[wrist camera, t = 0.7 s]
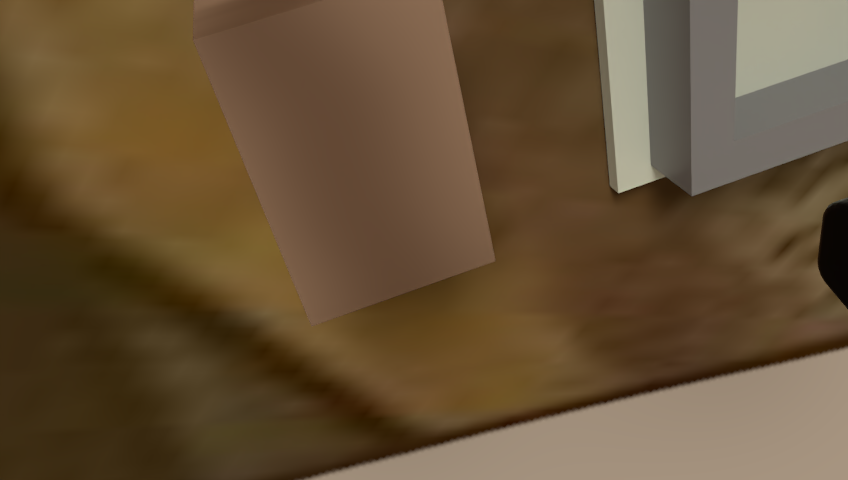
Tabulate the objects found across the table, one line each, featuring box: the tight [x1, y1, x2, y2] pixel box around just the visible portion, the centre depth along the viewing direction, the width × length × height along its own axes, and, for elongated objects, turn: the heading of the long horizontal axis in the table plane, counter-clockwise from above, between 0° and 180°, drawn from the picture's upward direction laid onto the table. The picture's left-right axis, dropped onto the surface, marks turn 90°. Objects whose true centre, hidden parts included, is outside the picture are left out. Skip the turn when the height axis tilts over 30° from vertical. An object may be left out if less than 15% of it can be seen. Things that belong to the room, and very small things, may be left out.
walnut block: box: [193, 0, 496, 326], centre depth 15 cm, size 4×6×5 cm, turn 13°
